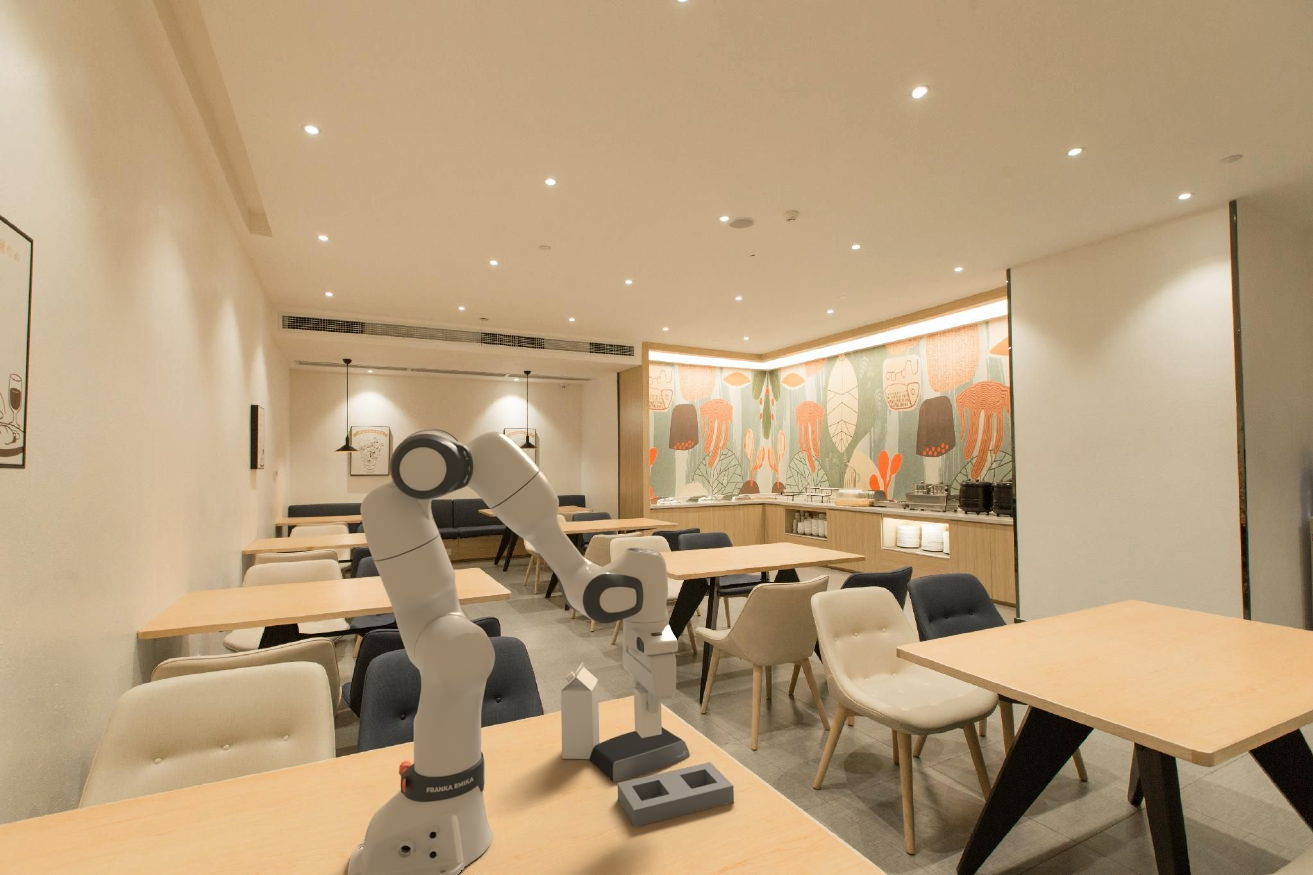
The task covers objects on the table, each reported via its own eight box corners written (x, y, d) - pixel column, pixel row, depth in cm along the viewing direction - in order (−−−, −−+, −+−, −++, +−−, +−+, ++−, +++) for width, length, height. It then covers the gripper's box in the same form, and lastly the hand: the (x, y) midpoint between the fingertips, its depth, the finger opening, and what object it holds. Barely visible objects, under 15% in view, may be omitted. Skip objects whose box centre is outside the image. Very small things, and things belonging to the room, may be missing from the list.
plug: (641, 737, 109) (640, 688, 109) (634, 729, 113) (633, 681, 113) (661, 734, 110) (660, 685, 111) (654, 725, 114) (653, 678, 115)
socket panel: (634, 827, 104) (634, 810, 104) (617, 798, 113) (617, 783, 114) (733, 801, 111) (733, 785, 112) (710, 776, 121) (710, 761, 121)
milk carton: (599, 745, 136) (597, 662, 137) (593, 760, 129) (591, 672, 130) (569, 744, 137) (568, 662, 138) (561, 759, 130) (560, 672, 131)
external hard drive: (692, 759, 129) (691, 740, 129) (614, 786, 119) (614, 765, 119) (661, 738, 140) (660, 720, 140) (587, 761, 130) (587, 742, 130)
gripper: (614, 622, 121) (615, 691, 120) (648, 648, 102) (650, 730, 101) (643, 619, 123) (644, 686, 122) (682, 644, 104) (683, 724, 103)
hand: (647, 706), depth 112 cm, fingers closed on plug, 4 cm apart
